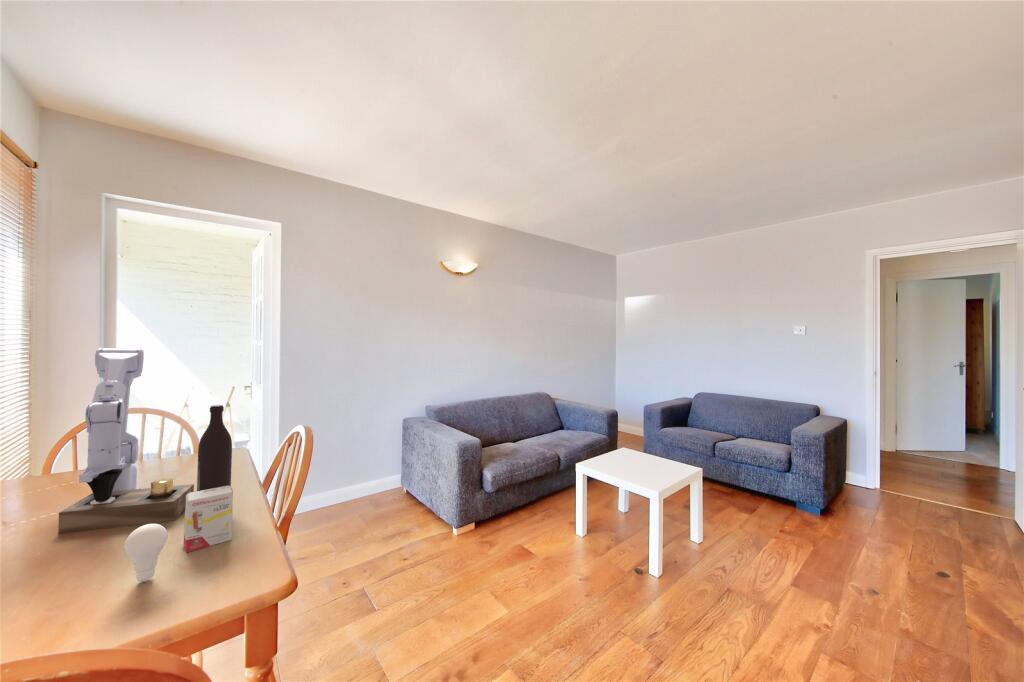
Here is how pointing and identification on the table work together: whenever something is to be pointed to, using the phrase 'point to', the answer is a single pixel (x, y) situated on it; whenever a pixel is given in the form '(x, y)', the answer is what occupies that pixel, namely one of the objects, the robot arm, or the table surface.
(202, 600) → the table surface
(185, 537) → the ink box
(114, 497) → the steel peg
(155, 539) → the lightbulb
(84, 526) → the peg board
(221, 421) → the wine bottle
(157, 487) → the brass peg
